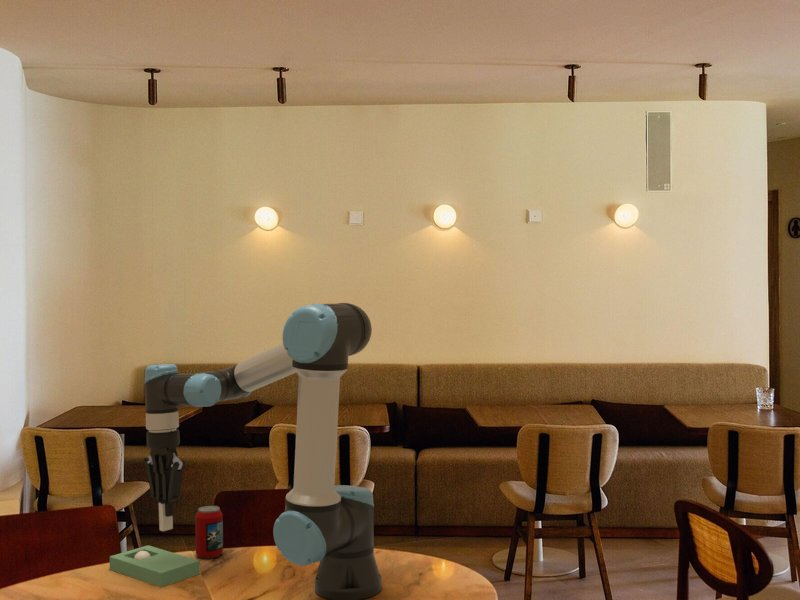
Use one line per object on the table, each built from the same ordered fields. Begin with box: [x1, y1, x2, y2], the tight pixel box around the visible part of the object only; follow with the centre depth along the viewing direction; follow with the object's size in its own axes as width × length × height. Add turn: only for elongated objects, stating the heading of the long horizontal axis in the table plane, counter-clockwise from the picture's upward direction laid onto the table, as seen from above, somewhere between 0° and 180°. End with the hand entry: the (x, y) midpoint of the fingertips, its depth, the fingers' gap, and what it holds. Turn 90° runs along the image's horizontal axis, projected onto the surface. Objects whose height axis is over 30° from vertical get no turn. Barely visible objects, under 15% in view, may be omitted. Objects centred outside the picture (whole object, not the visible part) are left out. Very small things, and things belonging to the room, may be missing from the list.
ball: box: [134, 551, 150, 560], centre depth 207 cm, size 4×4×4 cm
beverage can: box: [194, 505, 224, 560], centre depth 216 cm, size 7×7×12 cm
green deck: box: [109, 545, 201, 588], centre depth 204 cm, size 20×11×3 cm, turn 53°
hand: (166, 529), depth 201 cm, fingers closed
